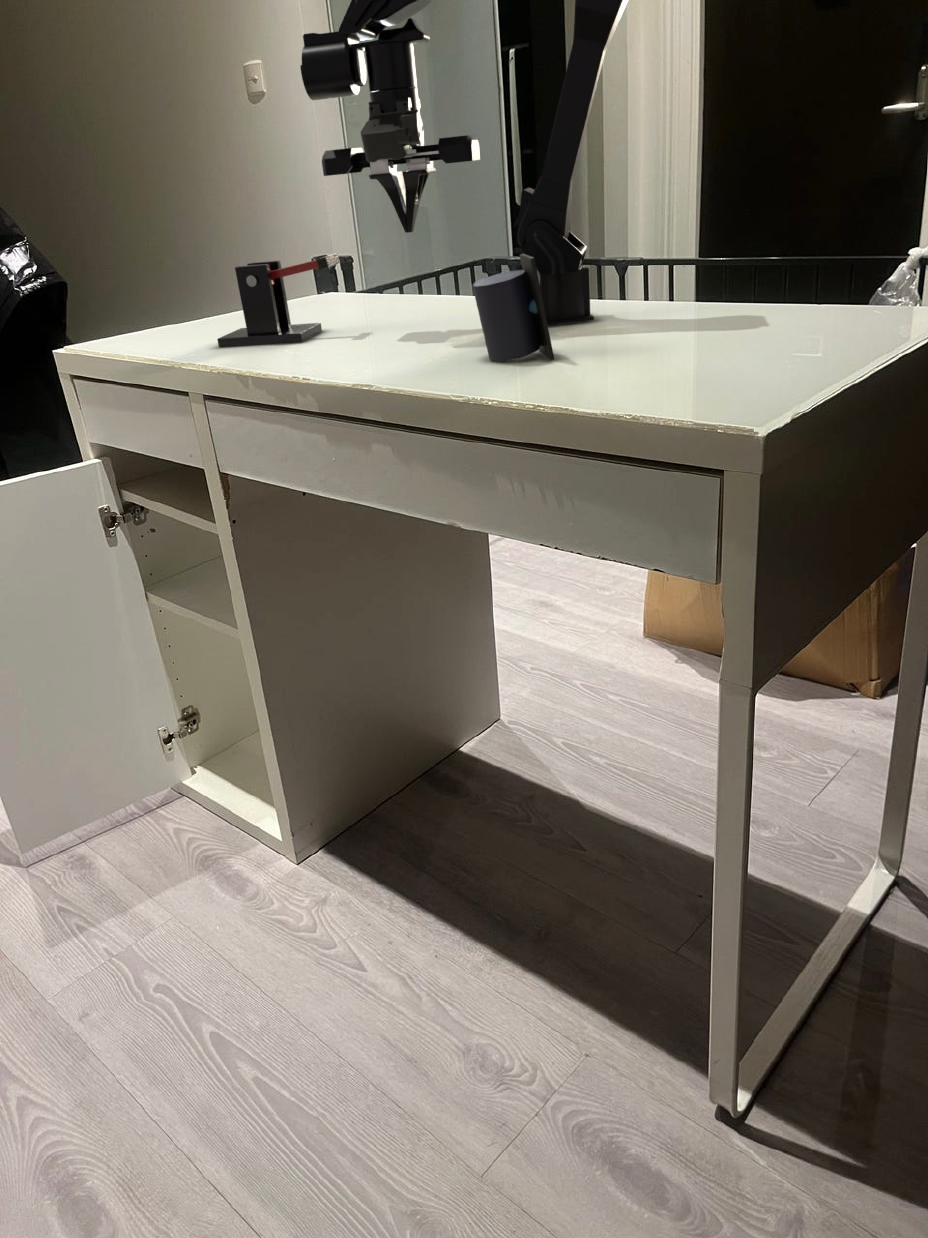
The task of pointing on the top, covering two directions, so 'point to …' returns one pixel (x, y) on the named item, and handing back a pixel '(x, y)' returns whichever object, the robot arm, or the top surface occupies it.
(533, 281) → the speaker
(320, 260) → the paintbrush
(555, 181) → the robot arm
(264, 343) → the lever switch
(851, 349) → the top surface
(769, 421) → the top surface
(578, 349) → the top surface
